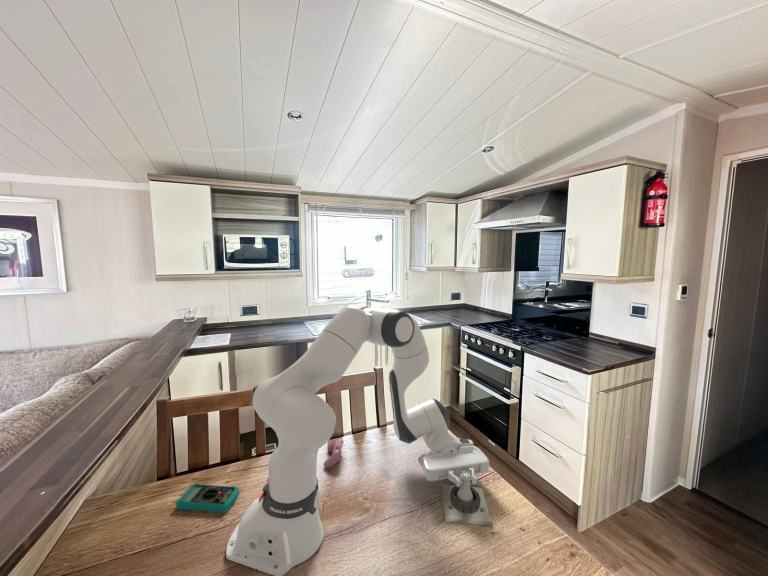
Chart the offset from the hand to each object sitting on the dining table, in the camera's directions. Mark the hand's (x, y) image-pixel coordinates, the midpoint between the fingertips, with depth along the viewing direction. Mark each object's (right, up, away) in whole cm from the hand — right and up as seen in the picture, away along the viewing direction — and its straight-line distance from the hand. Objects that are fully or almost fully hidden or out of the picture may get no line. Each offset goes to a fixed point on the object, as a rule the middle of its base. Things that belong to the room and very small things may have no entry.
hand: (467, 483), depth 86 cm
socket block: (0, -7, +2) cm, 7 cm away
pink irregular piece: (-40, -5, +20) cm, 45 cm away
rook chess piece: (0, -6, +2) cm, 6 cm away
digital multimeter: (-73, -7, +2) cm, 73 cm away
